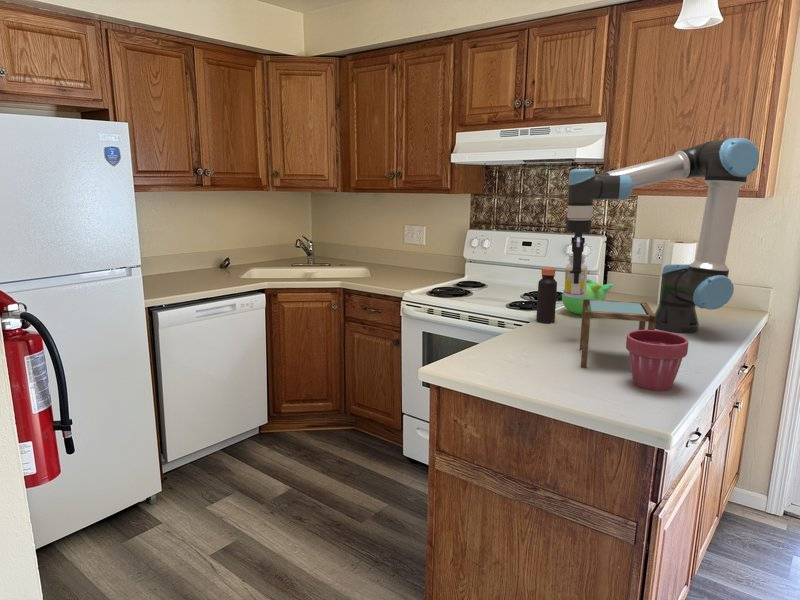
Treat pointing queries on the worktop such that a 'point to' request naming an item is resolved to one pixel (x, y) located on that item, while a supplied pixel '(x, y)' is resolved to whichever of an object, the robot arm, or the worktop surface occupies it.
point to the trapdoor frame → (609, 315)
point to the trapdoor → (617, 307)
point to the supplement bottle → (569, 279)
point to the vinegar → (546, 296)
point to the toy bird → (592, 292)
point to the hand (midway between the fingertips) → (575, 291)
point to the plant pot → (655, 357)
